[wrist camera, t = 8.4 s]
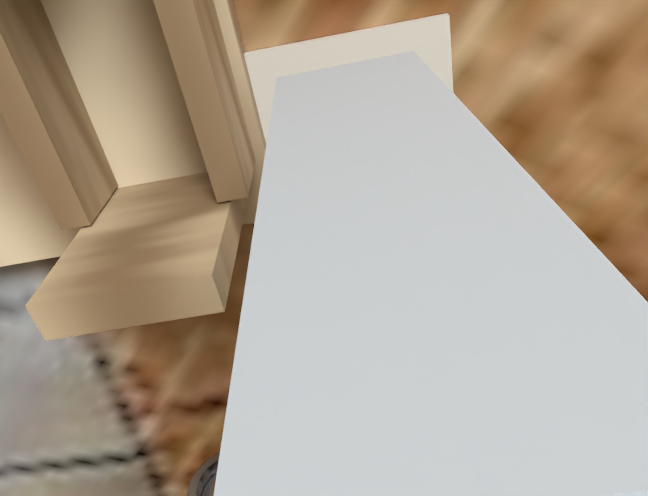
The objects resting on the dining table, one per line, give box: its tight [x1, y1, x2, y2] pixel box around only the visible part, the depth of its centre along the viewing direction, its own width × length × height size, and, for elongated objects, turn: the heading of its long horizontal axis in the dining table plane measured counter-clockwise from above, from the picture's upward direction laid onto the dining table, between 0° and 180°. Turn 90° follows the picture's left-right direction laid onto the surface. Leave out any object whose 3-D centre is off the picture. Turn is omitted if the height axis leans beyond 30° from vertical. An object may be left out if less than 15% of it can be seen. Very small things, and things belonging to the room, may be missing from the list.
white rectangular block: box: [213, 51, 648, 496], centre depth 11 cm, size 4×9×12 cm, turn 10°
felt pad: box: [244, 13, 453, 144], centre depth 20 cm, size 7×8×1 cm
